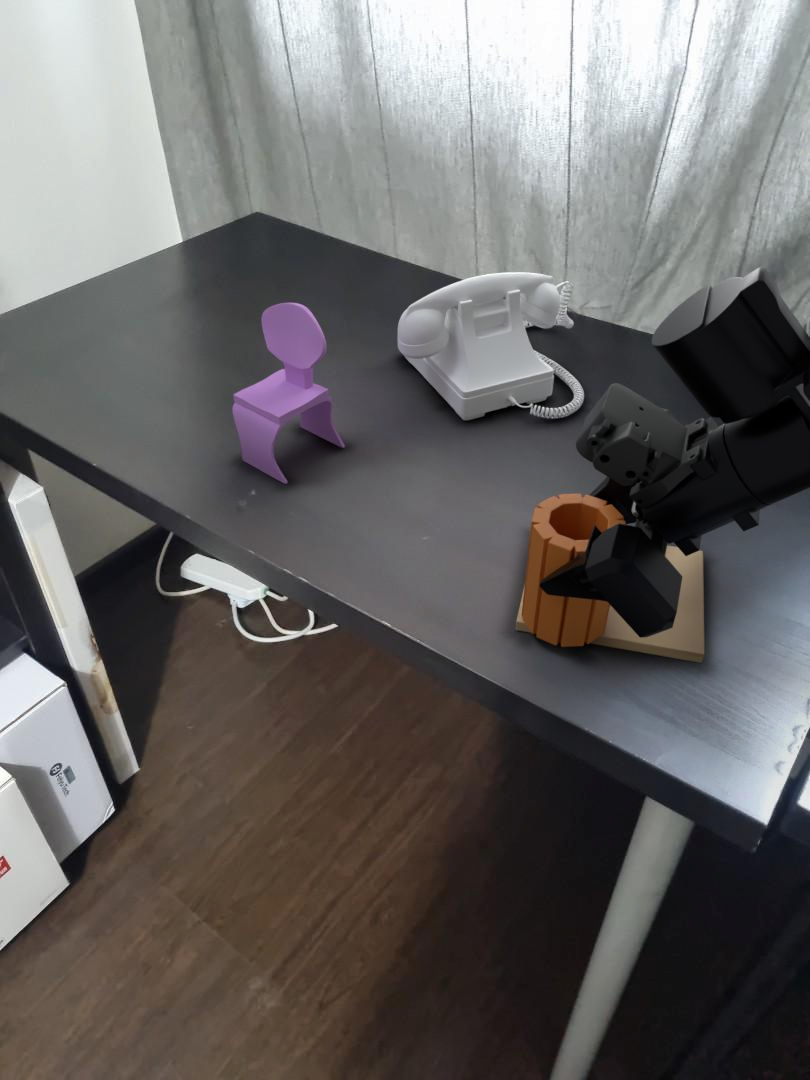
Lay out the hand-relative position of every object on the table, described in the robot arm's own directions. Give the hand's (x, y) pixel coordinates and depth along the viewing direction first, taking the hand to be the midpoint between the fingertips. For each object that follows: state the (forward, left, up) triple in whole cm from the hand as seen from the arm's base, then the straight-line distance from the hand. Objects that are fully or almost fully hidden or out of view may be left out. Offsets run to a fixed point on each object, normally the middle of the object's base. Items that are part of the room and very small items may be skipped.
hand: (553, 557), depth 61 cm
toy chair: (+28, -17, -7) cm, 33 cm away
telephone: (+10, -37, -7) cm, 39 cm away
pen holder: (-1, 0, -6) cm, 6 cm away
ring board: (-5, -4, -7) cm, 9 cm away
